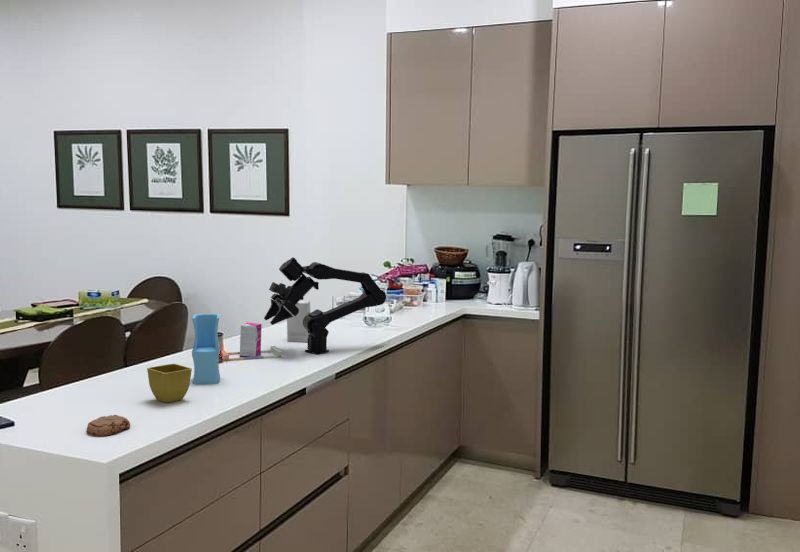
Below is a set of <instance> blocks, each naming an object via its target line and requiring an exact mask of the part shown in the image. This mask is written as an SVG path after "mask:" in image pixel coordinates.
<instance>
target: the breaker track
mask: <svg viewBox="0 0 800 552" xmlns="http://www.w3.org/2000/svg"><path fill="white" fill-rule="evenodd" d="M226 351H227V350H225V349H224V357H222V358H221V359H222V360H223V362H228V361H229V362H231V361H245V360H247V361H248V360H261V359H263V360H264V359H274V358H275V359H277V358H278V359H279V358H283V351H282V350H280V349H279V348H278V347H277V346H276V345H270V349H264V350H263V349H261V354H263V353H264V354H265V353H271V354H273V355H262V356H261V355H259V356H257V357H231V358H230V356H231V355H233V356H234V355H240V351H234V352H233V351H231V352H229V351H227V352H226Z"/></svg>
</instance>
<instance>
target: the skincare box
mask: <svg viewBox="0 0 800 552" xmlns="http://www.w3.org/2000/svg"><path fill="white" fill-rule="evenodd" d="M295 306H296V307H297V308H298V309H299V313H298V314H297V315H296V316H293V315H292V316H293V317H291V318H288V319H286V329H287V330H286V334H287V336H286V337H287V339H286V342H289V343H290V342H293V343H308V334H309V333H308V331H307V329H305V328H304V326H303V319H304V317H305V316H306V315H308V314H307V313H311V300H300V301H299V302H298V303H297V304H296V305H295Z"/></svg>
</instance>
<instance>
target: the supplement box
mask: <svg viewBox="0 0 800 552" xmlns="http://www.w3.org/2000/svg"><path fill="white" fill-rule="evenodd" d="M239 330H240V337H239V339H240V340H239V352H240V354H239V358H244V357H259V356H261V355H262V353H261V351H262V323H254V322H245V323H243V324H240V329H239Z"/></svg>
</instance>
